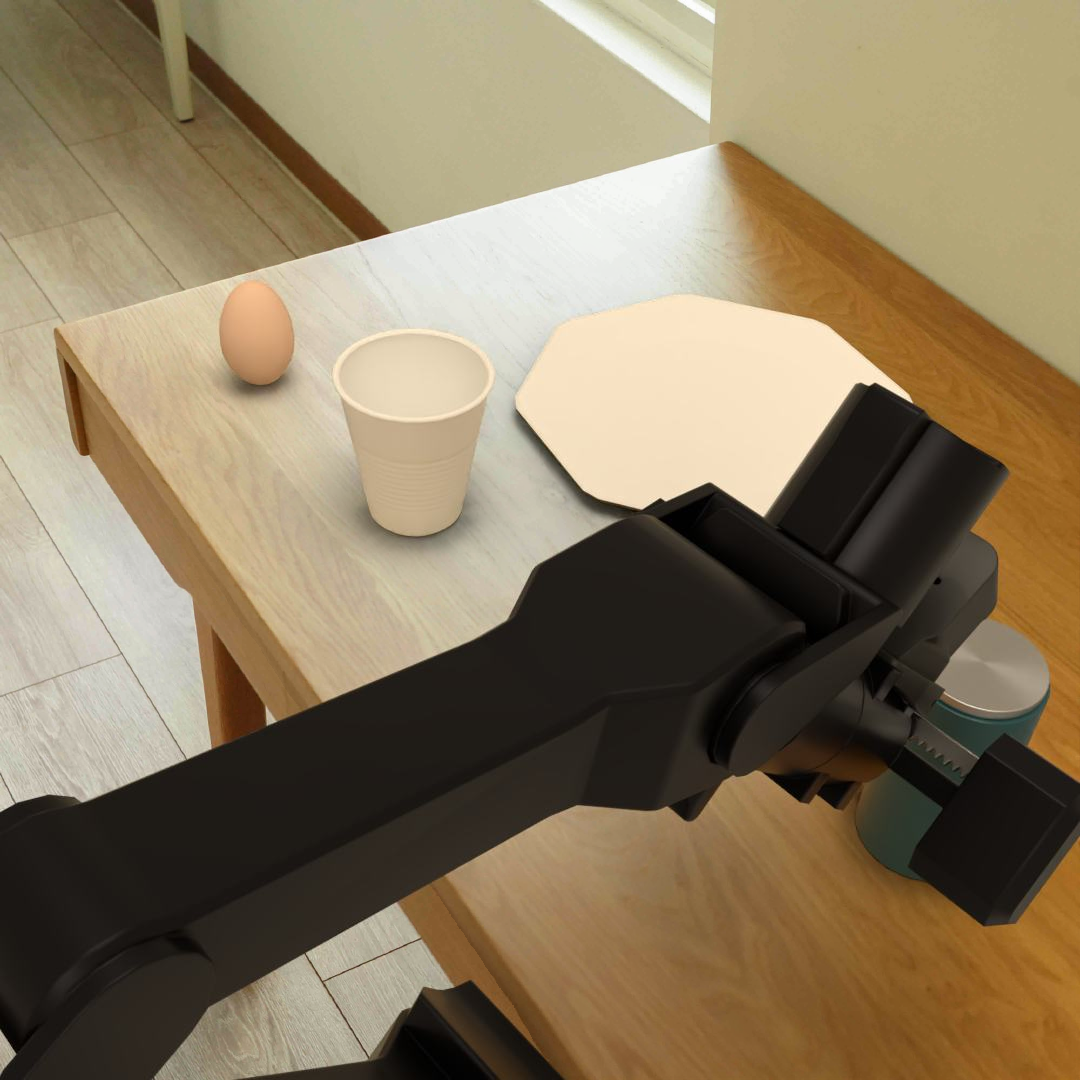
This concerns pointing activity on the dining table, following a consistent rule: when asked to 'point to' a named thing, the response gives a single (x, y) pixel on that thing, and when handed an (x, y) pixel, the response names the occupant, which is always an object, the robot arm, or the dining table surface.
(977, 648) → the can
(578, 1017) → the dining table surface
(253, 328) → the egg
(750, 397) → the plate
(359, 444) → the cup
